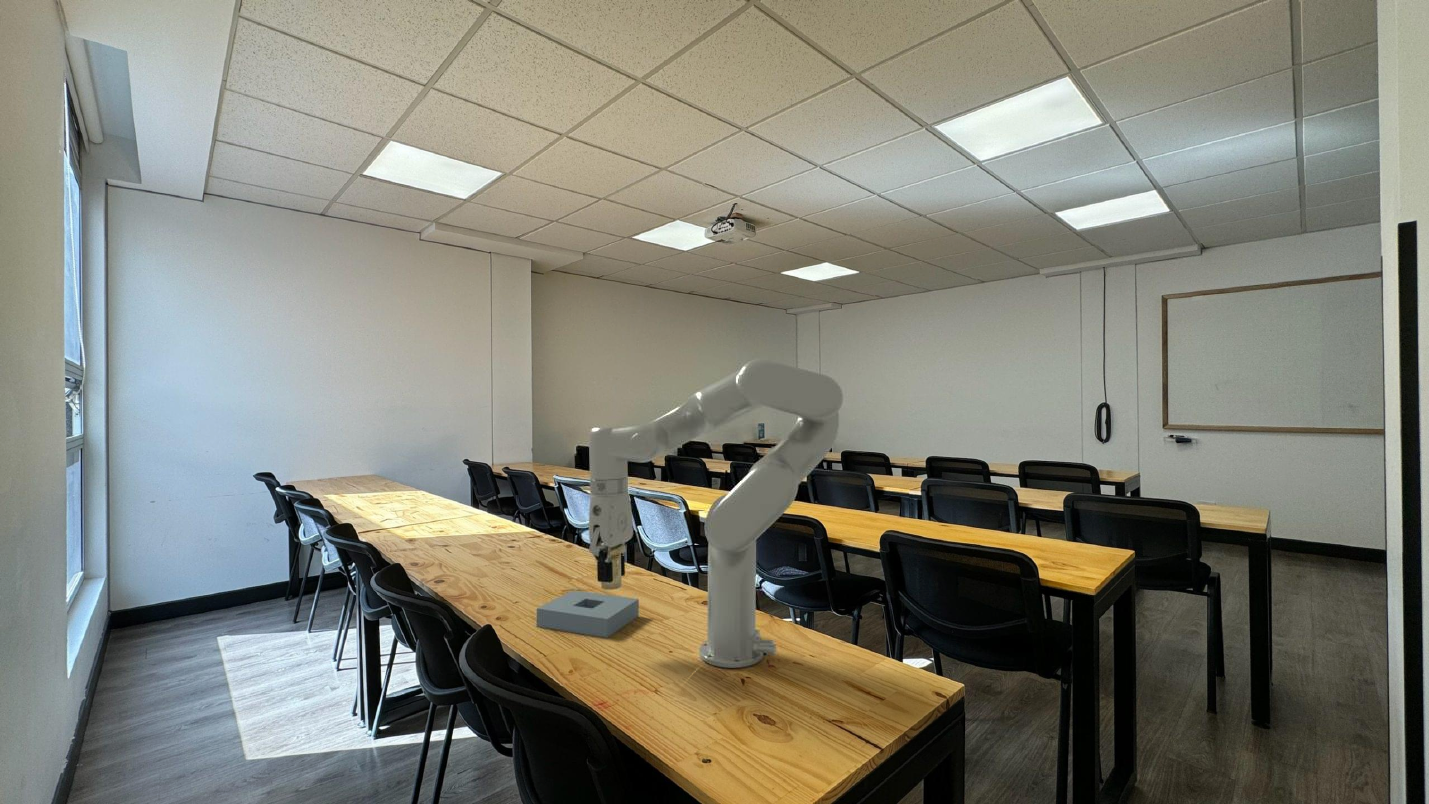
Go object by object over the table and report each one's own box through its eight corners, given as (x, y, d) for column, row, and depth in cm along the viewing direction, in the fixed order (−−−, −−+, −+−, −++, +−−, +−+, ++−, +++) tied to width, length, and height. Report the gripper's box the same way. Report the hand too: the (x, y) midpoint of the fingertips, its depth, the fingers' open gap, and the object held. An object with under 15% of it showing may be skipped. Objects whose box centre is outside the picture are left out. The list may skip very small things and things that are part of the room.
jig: (638, 616, 134) (638, 598, 134) (607, 638, 121) (607, 619, 121) (573, 606, 141) (573, 590, 141) (536, 626, 128) (536, 608, 128)
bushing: (631, 583, 117) (630, 544, 118) (617, 592, 112) (615, 551, 112) (606, 581, 120) (605, 542, 120) (590, 589, 114) (589, 549, 114)
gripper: (603, 493, 107) (605, 592, 107) (644, 482, 123) (647, 568, 122) (569, 492, 110) (571, 589, 109) (614, 482, 125) (616, 566, 125)
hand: (611, 577), depth 116 cm, fingers closed on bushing, 4 cm apart
